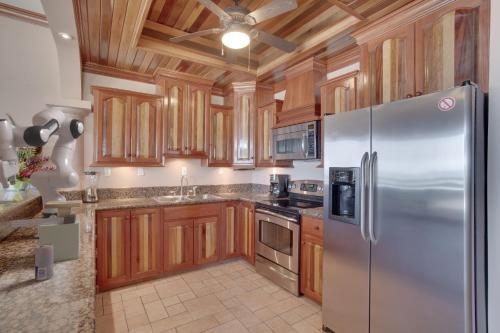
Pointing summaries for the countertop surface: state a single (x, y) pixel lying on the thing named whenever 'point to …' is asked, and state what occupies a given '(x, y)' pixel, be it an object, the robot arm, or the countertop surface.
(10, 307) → the countertop surface
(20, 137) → the robot arm
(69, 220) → the hammer
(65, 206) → the stand
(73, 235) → the pale green box
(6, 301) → the countertop surface
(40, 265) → the energy drink
